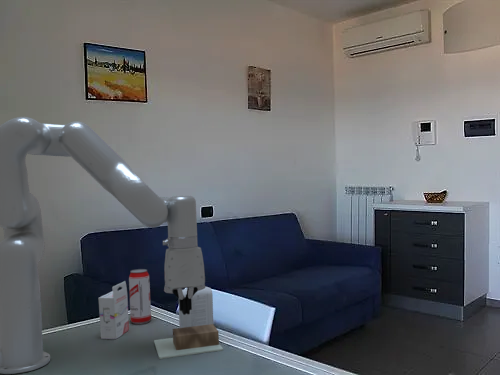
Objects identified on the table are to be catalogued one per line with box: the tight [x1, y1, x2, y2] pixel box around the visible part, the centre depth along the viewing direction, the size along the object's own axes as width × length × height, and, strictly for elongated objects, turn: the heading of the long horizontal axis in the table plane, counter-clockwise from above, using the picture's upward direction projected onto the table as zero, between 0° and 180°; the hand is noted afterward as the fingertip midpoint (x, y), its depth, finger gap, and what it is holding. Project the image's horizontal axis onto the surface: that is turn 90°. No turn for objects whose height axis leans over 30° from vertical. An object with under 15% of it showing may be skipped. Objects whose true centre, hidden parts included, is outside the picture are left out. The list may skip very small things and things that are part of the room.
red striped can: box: [128, 268, 152, 325], centre depth 154 cm, size 6×6×16 cm
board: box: [153, 337, 224, 360], centre depth 130 cm, size 16×14×1 cm
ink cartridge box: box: [98, 280, 130, 340], centre depth 142 cm, size 9×5×15 cm, turn 168°
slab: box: [172, 323, 220, 350], centre depth 130 cm, size 4×7×11 cm
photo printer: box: [178, 286, 214, 328], centre depth 145 cm, size 10×4×12 cm, turn 116°
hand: (185, 313), depth 130 cm, fingers closed
